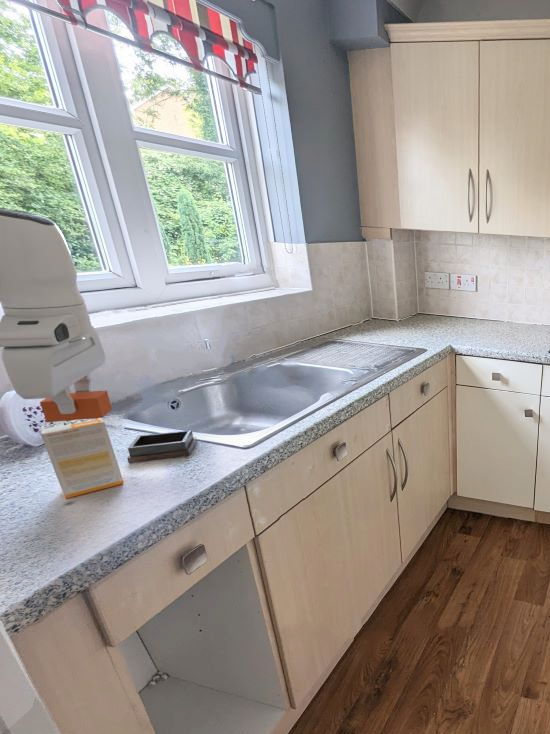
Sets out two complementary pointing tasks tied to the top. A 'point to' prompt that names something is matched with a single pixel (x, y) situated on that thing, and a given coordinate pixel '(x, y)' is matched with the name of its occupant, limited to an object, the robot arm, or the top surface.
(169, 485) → the top surface
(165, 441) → the dark grey tray
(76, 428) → the supplement box
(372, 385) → the top surface
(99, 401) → the block
